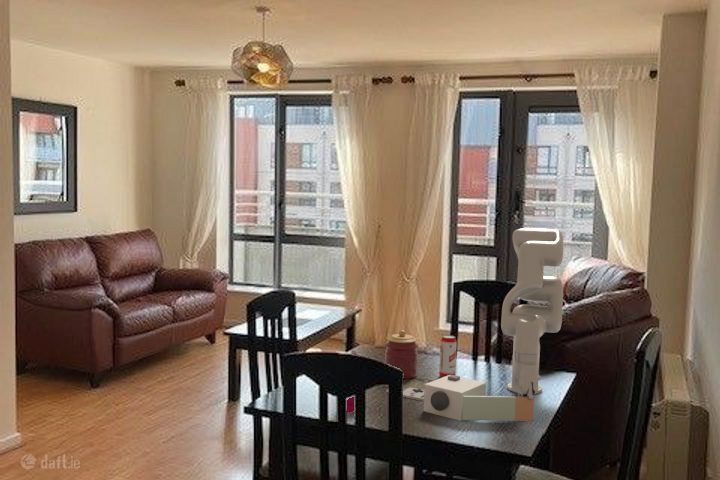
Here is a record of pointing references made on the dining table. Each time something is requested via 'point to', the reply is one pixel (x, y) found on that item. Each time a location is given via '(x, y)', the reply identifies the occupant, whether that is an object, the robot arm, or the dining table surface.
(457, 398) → the block
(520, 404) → the side door
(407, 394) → the handheld gaming console
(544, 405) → the dining table surface
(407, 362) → the canister
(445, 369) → the beer can
